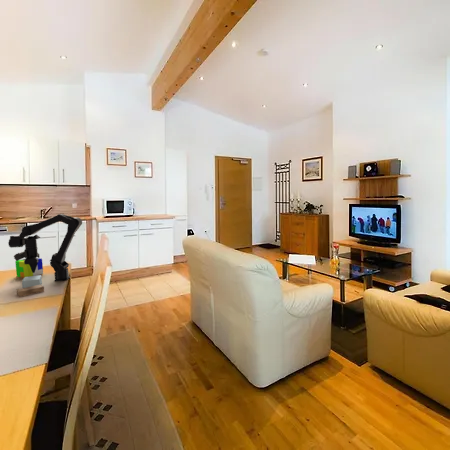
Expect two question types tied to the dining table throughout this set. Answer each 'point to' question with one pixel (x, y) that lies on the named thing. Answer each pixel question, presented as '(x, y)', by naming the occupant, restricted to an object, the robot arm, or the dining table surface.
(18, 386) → the dining table surface
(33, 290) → the board
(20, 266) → the puzzle toy
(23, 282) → the block
